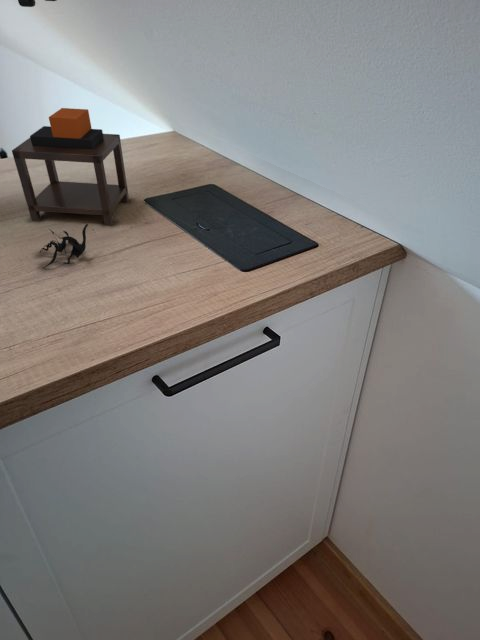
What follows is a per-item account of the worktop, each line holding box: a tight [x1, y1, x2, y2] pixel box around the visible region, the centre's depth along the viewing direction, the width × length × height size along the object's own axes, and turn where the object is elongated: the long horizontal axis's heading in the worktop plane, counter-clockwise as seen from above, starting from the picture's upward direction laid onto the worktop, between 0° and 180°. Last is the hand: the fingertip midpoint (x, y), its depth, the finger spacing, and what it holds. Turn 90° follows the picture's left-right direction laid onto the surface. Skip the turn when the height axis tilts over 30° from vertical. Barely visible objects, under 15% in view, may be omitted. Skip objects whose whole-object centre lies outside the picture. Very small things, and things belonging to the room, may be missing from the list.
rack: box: [11, 133, 130, 227], centre depth 85 cm, size 14×11×12 cm
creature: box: [39, 223, 89, 269], centre depth 74 cm, size 8×5×8 cm
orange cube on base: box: [29, 107, 104, 149], centre depth 79 cm, size 10×6×4 cm, turn 86°
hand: (39, 3), depth 75 cm, fingers open, 8 cm apart
